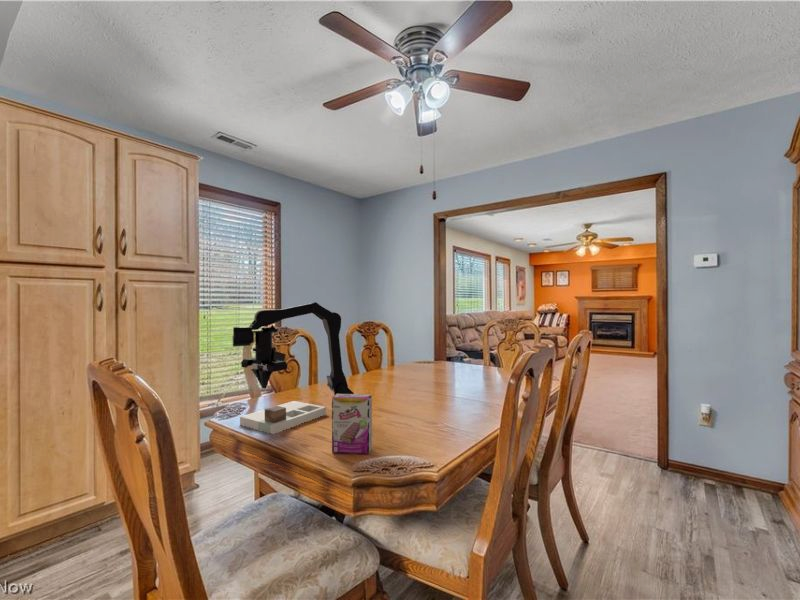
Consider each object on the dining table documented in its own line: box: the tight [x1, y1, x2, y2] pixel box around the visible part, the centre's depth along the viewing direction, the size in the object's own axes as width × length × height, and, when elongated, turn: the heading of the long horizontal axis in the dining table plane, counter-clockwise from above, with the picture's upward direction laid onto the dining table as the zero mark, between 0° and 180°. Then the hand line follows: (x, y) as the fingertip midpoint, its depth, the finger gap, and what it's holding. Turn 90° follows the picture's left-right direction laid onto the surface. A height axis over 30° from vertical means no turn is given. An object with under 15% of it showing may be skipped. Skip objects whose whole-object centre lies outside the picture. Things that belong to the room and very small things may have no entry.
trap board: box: [239, 400, 327, 435], centre depth 142 cm, size 18×25×3 cm
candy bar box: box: [331, 393, 373, 455], centre depth 112 cm, size 11×5×16 cm, turn 84°
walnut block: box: [264, 405, 286, 423], centre depth 132 cm, size 5×5×4 cm
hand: (264, 388), depth 138 cm, fingers closed
